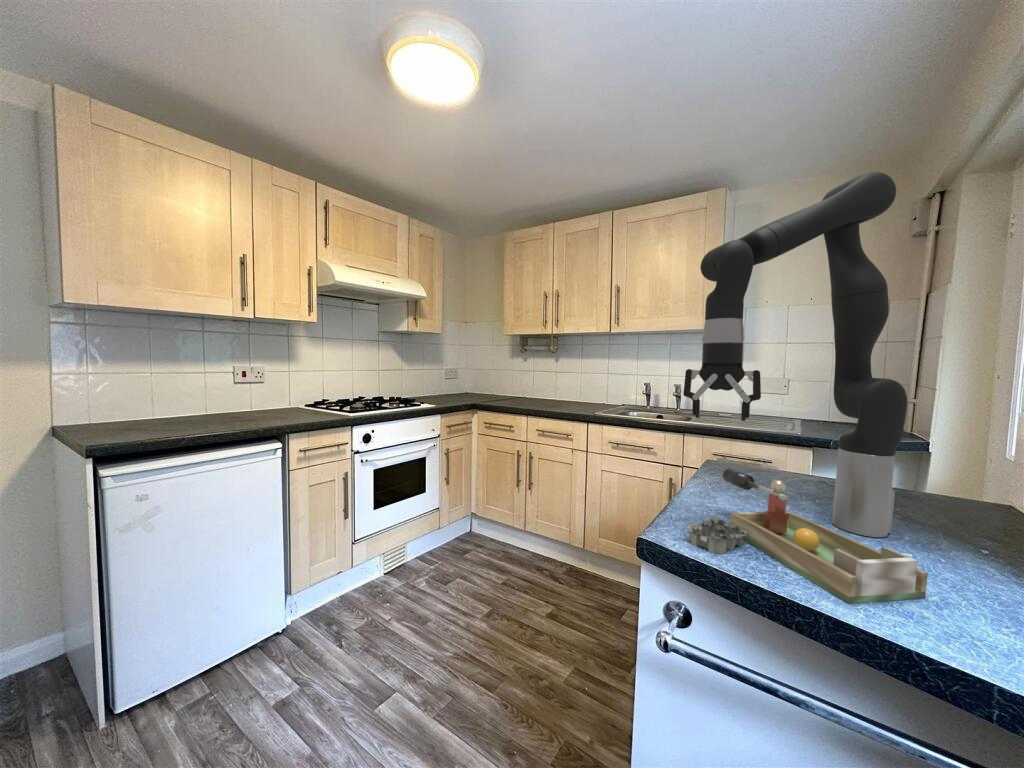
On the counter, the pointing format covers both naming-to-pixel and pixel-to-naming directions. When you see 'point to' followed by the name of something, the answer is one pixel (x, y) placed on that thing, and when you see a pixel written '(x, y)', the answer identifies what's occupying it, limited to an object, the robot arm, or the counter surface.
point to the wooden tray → (838, 561)
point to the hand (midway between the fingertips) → (719, 418)
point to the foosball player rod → (776, 502)
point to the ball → (806, 539)
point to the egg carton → (723, 539)
